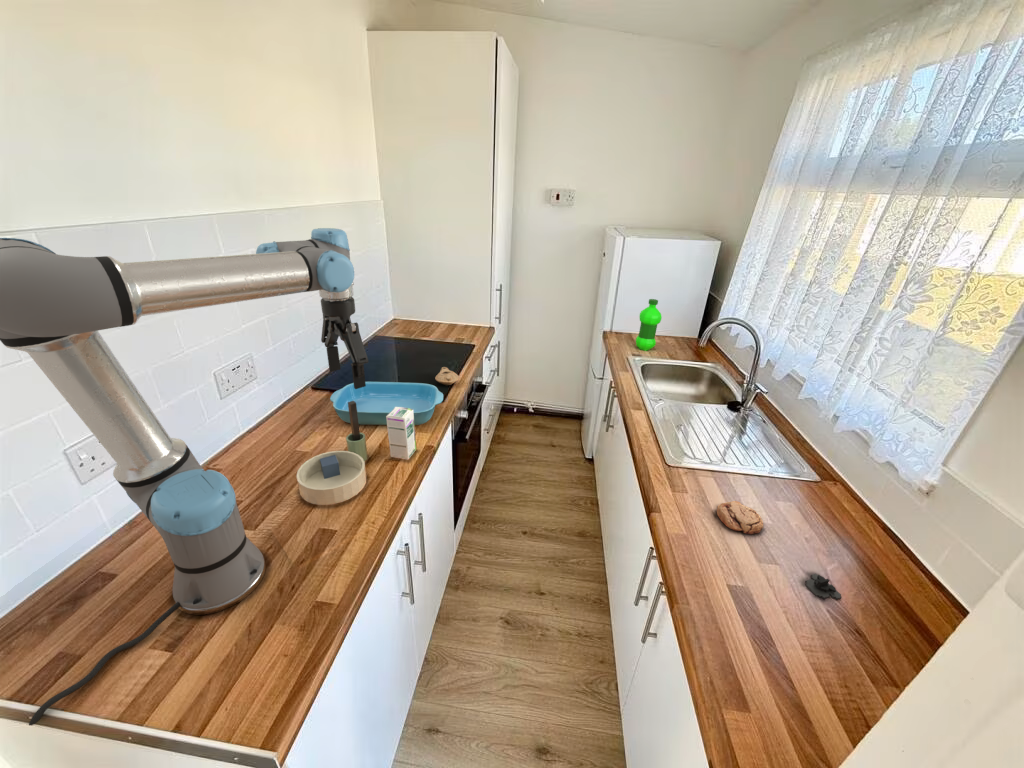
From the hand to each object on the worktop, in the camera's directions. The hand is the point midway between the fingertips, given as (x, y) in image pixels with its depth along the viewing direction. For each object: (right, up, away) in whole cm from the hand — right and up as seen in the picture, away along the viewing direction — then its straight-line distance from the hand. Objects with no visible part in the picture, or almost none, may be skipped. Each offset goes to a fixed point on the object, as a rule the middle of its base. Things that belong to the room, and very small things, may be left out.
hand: (347, 378), depth 111 cm
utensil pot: (-1, -23, +11) cm, 26 cm away
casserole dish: (+1, -12, +36) cm, 38 cm away
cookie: (+100, -36, -3) cm, 106 cm away
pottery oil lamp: (+17, -1, +61) cm, 63 cm away
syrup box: (+11, -22, +15) cm, 29 cm away
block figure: (+108, -45, -20) cm, 119 cm away
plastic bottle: (+110, +16, +106) cm, 154 cm away
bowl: (-4, -28, +1) cm, 28 cm away
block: (-6, -25, +5) cm, 27 cm away
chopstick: (-1, -23, +11) cm, 25 cm away
